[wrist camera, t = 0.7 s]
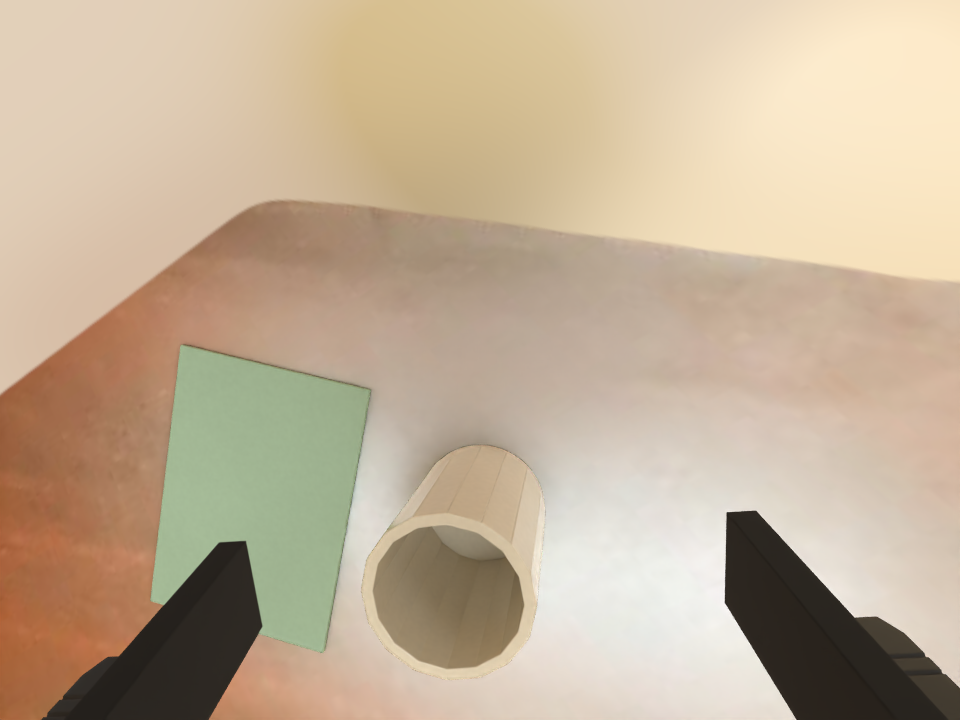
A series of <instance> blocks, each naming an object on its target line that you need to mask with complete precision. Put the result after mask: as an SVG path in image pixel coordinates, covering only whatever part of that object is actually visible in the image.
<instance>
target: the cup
mask: <svg viewBox="0 0 960 720" xmlns="http://www.w3.org/2000/svg"><path fill="white" fill-rule="evenodd" d="M545 513H546V512H545V503H544V496H543V492H542V489H541V486H540V484H539V482H538V480H537V478H536V476H535V475H534V473H533V472H532V471H531V469H530V468H529V467H528V466H527V465H526V464H525V463H524V462H523V461H522V460H520V459H519V458H518V457H516V456H515V455H513V454H512V453H510V452H508V451H505V450H503V449H500V448H497V447H493V446H487V445H472V446H466V447H462V448H459V449H456V450H454V451H452V452H450V453H448V454H447V455H445V456H444V457H443V458H441V459H440V460H439V461H437V462H436V463H435V465H434V466H433V467H432V469H431V470H430V471H429V473H428V474H427V476H426V477H425V478H424V480H423V481H422V482H421V484H420V485H419V487H418V488H417V489H416V491H415V492H414V493H413V495H412V496H411V498H410V499H409V500H408V502H407V503H406V504H405V506H404V507H403V509H402V510H401V511H400V513H399V514H398V515H397V517H396V518H395V520H394V521H393V522H392V524H391V525H390V526H389V528H388V529H387V531H386V532H385V533H384V535H383V536H382V538H381V539H380V540H379V542H378V543H377V545H376V546H375V548H374V549H373V550H372V552H371V553H370V555H369V556H368V558H367V560H366V565H365V571H364V576H363V582H362V587H361V592H362V597H363V601H364V606H365V611H366V615H367V620H368V621H369V622H368V623H369V625H370V626H371V628H372V629H373V631H374V632H375V634H376V635H377V637H378V638H379V640H380V641H381V643H382V644H383V646H384V647H385V649H386V650H388V651H389V652H390V653H391V654H393V655H394V656H395V657H397V658H398V659H399V660H401V661H402V662H403V663H405V664H406V665H408V666H409V667H410V668H412V669H413V670H414V669H415V671H418V672H421V673H424V674H428V675H431V676H434V677H438V678H441V679H444V680H457V679H472V678H480V677H483V676H485V675H487V674H489V673H491V672H493V671H495V670H497V669H499V668H501V667H503V666H505V665H507V664H508V663H510V662H511V660H512V659H513V658H514V657H515V655H516V654H517V653H518V652H519V650H520V649H521V648H522V647H523V646H524V644H525V643H526V642H527V641H528V639H529V637H530V634H531V630H532V626H533V622H534V618H535V614H536V609H537V601H538V590H539V580H540V569H541V558H542V547H543V536H544V525H545Z"/></svg>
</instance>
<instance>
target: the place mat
mask: <svg viewBox="0 0 960 720" xmlns="http://www.w3.org/2000/svg"><path fill="white" fill-rule="evenodd" d="M370 393H371V390H370V389H366V388H362V387H358V386H354V385H350V384H346V383H341V382H337V381H333V380H329V379H325V378H321V377H317V376H312V375H308V374H304V373H300V372H296V371H292V370H288V369H283V368H279V367H275V366H271V365H267V364H263V363H259V362H254V361H250V360H246V359H242V358H238V357H234V356H230V355H226V354H221V353H217V352H213V351H209V350H205V349H201V348H197V347H192V346H188V345H181V346H180V354H179V363H178V371H177V380H176V388H175V397H174V405H173V414H172V422H171V430H170V439H169V447H168V456H167V464H166V473H165V481H164V490H163V498H162V507H161V515H160V524H159V532H158V541H157V549H156V557H155V566H154V574H153V583H152V591H151V600H150V601H152V602H156V603H159V604H162V605H165V603H166V602H167V601H168V600H169V599H170V598H171V597H172V595H173V594H174V593H175V592H176V591H177V590H178V589H179V587H180V586H181V585H182V584H183V583H184V582H185V581H186V579H187V578H188V577H189V576H190V575H191V574H192V573H193V571H194V570H195V569H196V568H197V567H198V566H199V565H200V563H201V562H202V561H203V560H204V559H205V558H206V557H207V555H208V554H209V553H210V552H211V551H212V550H213V549H214V547H215V546H216V545H217V544H218V543H219V542H232V541H246V543H247V548H248V553H249V559H250V564H251V569H252V574H253V579H254V584H255V590H256V595H257V600H258V605H259V610H260V615H261V621H262V626H263V627H262V629H261V630H260V632H259V634H261V635H264V636H267V637H271V638H274V639H277V640H281V641H284V642H287V643H291V644H294V645H297V646H300V647H304V648H307V649H310V650H314V651H317V652H320V653H323V652H324V651H325V647H326V641H327V636H328V630H329V624H330V619H331V613H332V608H333V602H334V596H335V591H336V585H337V579H338V574H339V568H340V562H341V557H342V551H343V546H344V540H345V534H346V529H347V523H348V517H349V512H350V506H351V500H352V495H353V489H354V484H355V478H356V472H357V467H358V461H359V455H360V450H361V444H362V439H363V433H364V427H365V422H366V416H367V410H368V405H369V399H370Z"/></svg>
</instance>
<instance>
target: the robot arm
mask: <svg viewBox="0 0 960 720" xmlns="http://www.w3.org/2000/svg"><path fill="white" fill-rule="evenodd" d="M725 604H726V605H727V607H728V609H729V610H730V612H731V613H732V615H733V617H734V618H735V620H736V622H737V623H738V625H739V626H740V628H741V630H742V631H743V633H744V635H745V636H746V638H747V640H748V641H749V643H750V644H751V646H752V648H753V649H754V651H755V653H756V654H757V656H758V658H759V659H760V661H761V662H762V664H763V666H764V667H765V669H766V671H767V672H768V674H769V675H770V677H771V679H772V680H773V682H774V684H775V685H776V687H777V689H778V690H779V692H780V693H781V695H782V697H783V698H784V700H785V702H786V703H787V705H788V706H789V708H790V710H791V711H792V713H793V715H794V716H795V718H796V720H960V688H959V687H958V686H957V685H956V684H955V683H954V682H953V681H952V680H951V679H950V678H949V677H948V676H947V675H946V674H942V672H941V669H940V668H939V667H938V666H937V665H936V664H935V663H934V662H933V661H932V660H931V659H930V658H929V657H925V654H924V652H923V651H922V650H921V649H920V648H919V647H918V646H917V645H916V644H915V643H914V642H913V641H912V640H911V639H910V638H909V637H908V636H907V635H906V634H905V633H903V632H901V631H900V630H898V629H896V628H895V627H893V626H892V625H890V624H888V623H887V622H885V621H883V620H882V619H880V618H878V617H859V618H854V617H853V616H852V614H851V613H850V612H849V611H848V610H847V609H846V608H845V607H844V606H843V605H842V604H841V602H840V601H839V600H838V599H837V598H836V597H835V596H834V595H833V594H832V593H831V592H830V591H829V589H828V588H827V587H826V586H825V585H824V584H823V583H822V582H821V581H820V580H819V579H818V578H817V576H816V575H815V574H814V573H813V572H812V571H811V570H810V569H809V568H808V567H807V566H806V564H805V563H804V562H803V561H802V560H801V559H800V558H799V557H798V556H797V555H796V554H795V553H794V551H793V550H792V549H791V548H790V547H789V546H788V545H787V544H786V543H785V542H784V541H783V540H782V538H781V537H780V536H779V535H778V534H777V533H776V532H775V531H774V530H773V529H772V528H771V526H770V525H769V524H768V523H767V522H766V521H765V520H764V519H763V518H762V517H761V516H760V515H759V513H758V512H757V511H741V512H727V523H726V569H725ZM262 627H263V626H262V621H261V615H260V610H259V605H258V600H257V595H256V590H255V584H254V579H253V574H252V569H251V564H250V559H249V553H248V548H247V543H246V541H232V542H219V543H218V544H217V545H216V546H215V547H214V549H213V550H212V551H211V552H210V553H209V554H208V555H207V557H206V558H205V559H204V560H203V561H202V562H201V563H200V565H199V566H198V567H197V568H196V569H195V570H194V571H193V573H192V574H191V575H190V576H189V577H188V578H187V579H186V581H185V582H184V583H183V584H182V585H181V586H180V587H179V589H178V590H177V591H176V592H175V593H174V594H173V595H172V597H171V598H170V599H169V600H168V601H167V602H166V603H165V605H164V606H163V607H162V608H161V609H160V610H159V611H158V613H157V614H156V615H155V616H154V617H153V618H152V619H151V621H150V622H149V623H148V624H147V625H146V626H145V627H144V628H143V630H142V631H141V632H140V633H139V634H138V635H137V636H136V638H135V639H134V640H133V641H132V642H131V643H130V644H129V646H128V647H127V648H126V649H125V650H124V651H123V652H122V654H121V655H120V656H118V657H107V658H106V659H104V660H103V661H101V662H100V663H99V664H97V665H96V666H95V667H93V668H92V669H90V670H89V671H88V672H86V673H85V674H83V675H82V676H81V677H80V678H79V679H78V681H77V682H76V683H75V684H74V685H73V686H72V687H71V688H70V689H69V690H68V691H67V692H66V694H65V695H64V696H63V699H62V700H59V701H58V702H57V703H56V704H55V706H54V707H53V708H52V709H51V710H50V711H49V712H48V715H47V717H43V719H42V720H209V718H210V716H211V714H212V713H213V711H214V709H215V708H216V706H217V704H218V702H219V701H220V699H221V697H222V695H223V694H224V692H225V690H226V689H227V687H228V685H229V683H230V682H231V680H232V678H233V677H234V675H235V673H236V671H237V670H238V668H239V666H240V665H241V663H242V661H243V659H244V658H245V656H246V654H247V653H248V651H249V649H250V647H251V646H252V644H253V642H254V641H255V639H256V637H257V635H258V634H259V632H260V630H261V629H262Z"/></svg>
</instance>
